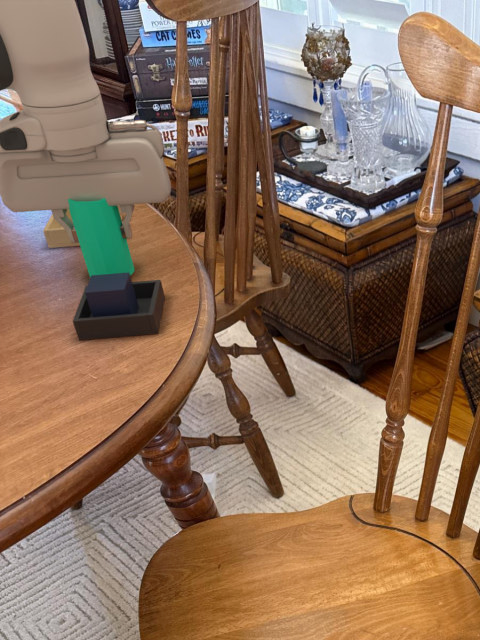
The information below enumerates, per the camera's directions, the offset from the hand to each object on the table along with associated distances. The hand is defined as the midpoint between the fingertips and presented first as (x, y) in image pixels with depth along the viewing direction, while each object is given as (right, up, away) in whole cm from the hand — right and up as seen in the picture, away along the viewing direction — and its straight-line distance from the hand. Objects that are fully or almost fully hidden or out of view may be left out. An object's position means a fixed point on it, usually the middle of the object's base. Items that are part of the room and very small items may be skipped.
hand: (102, 239), depth 102 cm
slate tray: (+5, -12, -6) cm, 14 cm away
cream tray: (-7, +6, +14) cm, 17 cm away
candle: (0, -3, +3) cm, 5 cm away
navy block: (+4, -12, -7) cm, 15 cm away
